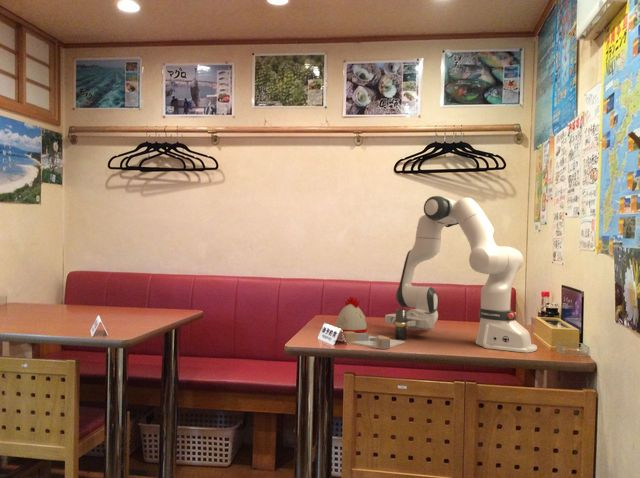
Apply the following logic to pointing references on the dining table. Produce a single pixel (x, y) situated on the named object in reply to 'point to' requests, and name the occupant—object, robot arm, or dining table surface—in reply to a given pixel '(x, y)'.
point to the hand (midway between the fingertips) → (399, 323)
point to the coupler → (400, 324)
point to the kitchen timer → (352, 317)
